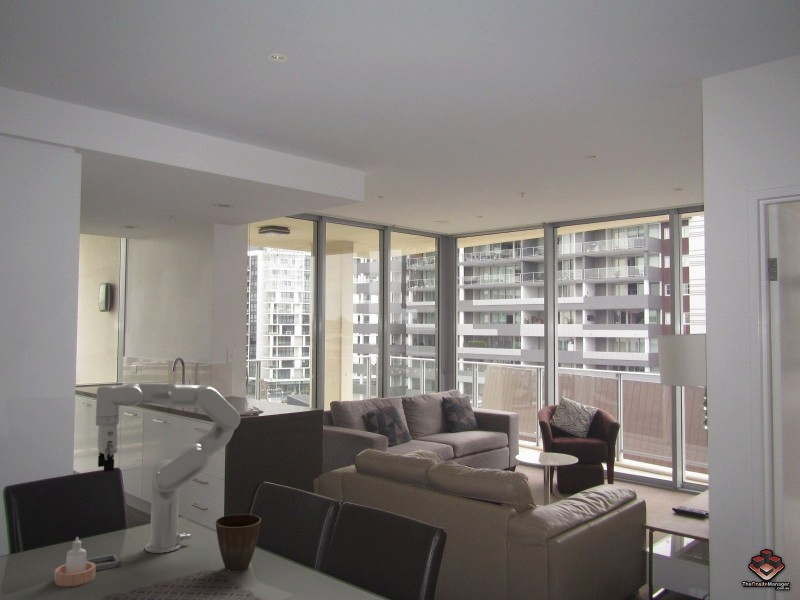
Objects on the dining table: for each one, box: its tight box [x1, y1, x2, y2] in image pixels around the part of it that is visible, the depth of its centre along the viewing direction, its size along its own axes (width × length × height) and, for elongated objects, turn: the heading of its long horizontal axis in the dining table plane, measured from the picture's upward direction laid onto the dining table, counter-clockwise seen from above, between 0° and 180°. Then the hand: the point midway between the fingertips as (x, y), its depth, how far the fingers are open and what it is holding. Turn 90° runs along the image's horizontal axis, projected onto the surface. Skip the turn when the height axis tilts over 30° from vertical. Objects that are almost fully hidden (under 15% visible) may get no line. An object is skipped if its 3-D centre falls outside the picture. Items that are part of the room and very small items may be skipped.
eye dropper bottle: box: [65, 536, 87, 574], centre depth 203 cm, size 4×6×12 cm
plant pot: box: [215, 513, 262, 572], centre depth 215 cm, size 15×15×16 cm
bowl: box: [54, 561, 97, 587], centre depth 203 cm, size 11×11×4 cm
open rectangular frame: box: [86, 553, 121, 572], centre depth 215 cm, size 10×9×2 cm
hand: (105, 468), depth 226 cm, fingers open, 9 cm apart
